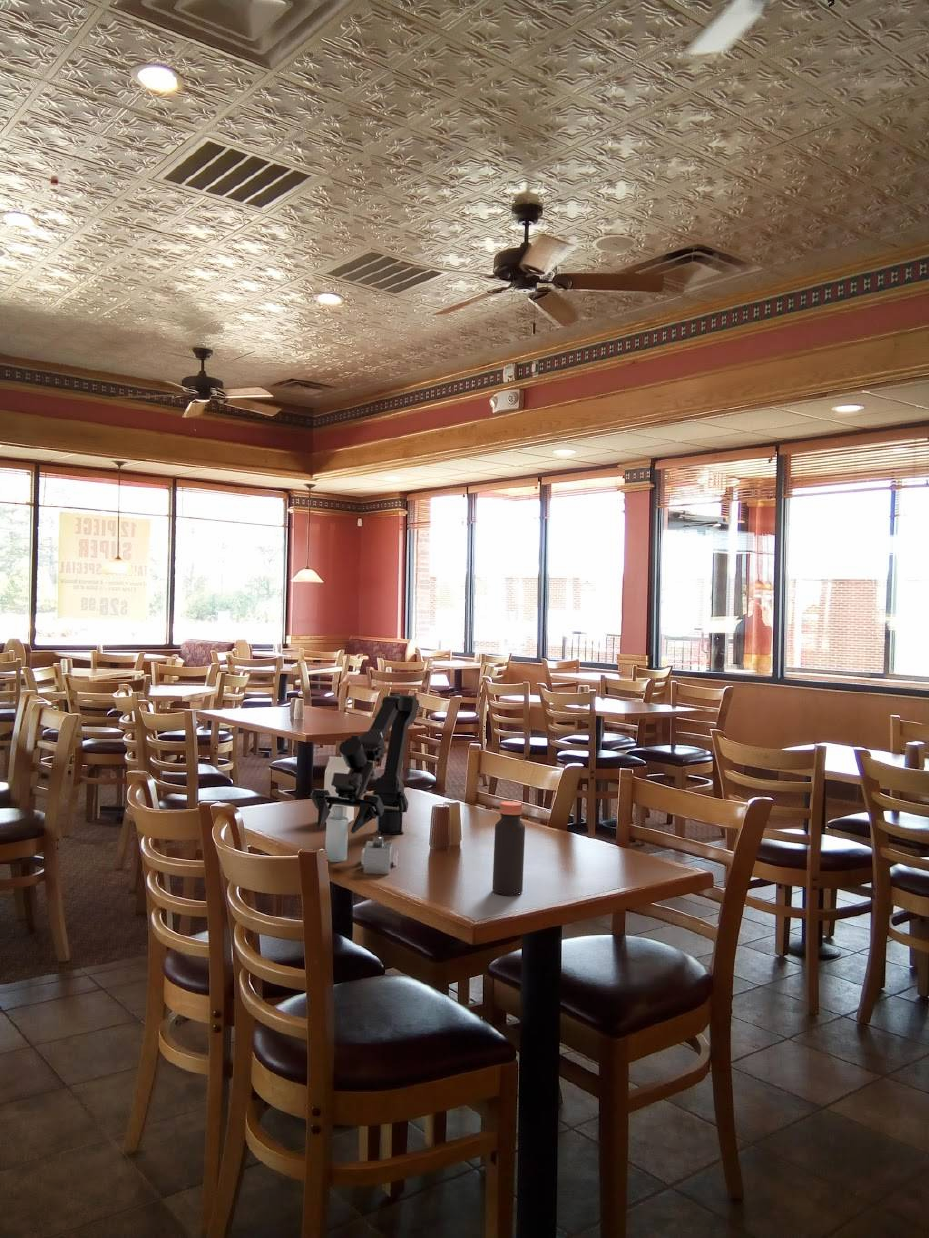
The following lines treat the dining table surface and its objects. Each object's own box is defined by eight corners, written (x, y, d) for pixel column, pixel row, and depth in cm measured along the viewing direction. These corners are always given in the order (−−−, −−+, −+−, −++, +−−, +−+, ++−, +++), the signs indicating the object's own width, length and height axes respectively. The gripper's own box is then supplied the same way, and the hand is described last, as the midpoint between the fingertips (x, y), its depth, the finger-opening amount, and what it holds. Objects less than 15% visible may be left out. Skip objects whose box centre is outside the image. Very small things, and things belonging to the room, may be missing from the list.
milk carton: (345, 825, 276) (348, 759, 276) (322, 823, 277) (325, 757, 277) (353, 820, 283) (356, 756, 283) (330, 818, 284) (333, 754, 284)
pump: (344, 855, 241) (346, 804, 241) (348, 861, 236) (350, 808, 236) (323, 856, 239) (325, 804, 239) (326, 862, 234) (329, 809, 234)
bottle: (518, 887, 219) (522, 800, 219) (525, 896, 212) (529, 806, 212) (489, 887, 218) (493, 800, 218) (495, 896, 211) (499, 806, 211)
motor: (362, 860, 237) (364, 828, 237) (397, 861, 237) (398, 829, 237) (357, 872, 225) (359, 839, 225) (394, 874, 225) (395, 840, 225)
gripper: (315, 757, 245) (291, 807, 234) (381, 763, 239) (360, 815, 228) (328, 783, 252) (305, 833, 242) (393, 790, 246) (372, 841, 235)
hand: (335, 830), depth 237 cm, fingers open, 9 cm apart
